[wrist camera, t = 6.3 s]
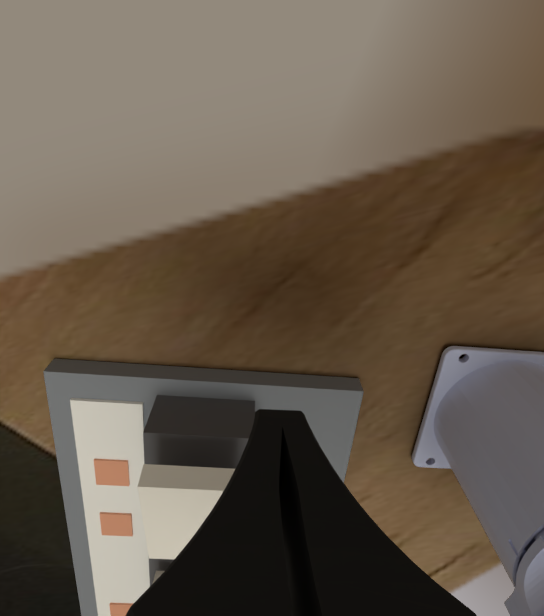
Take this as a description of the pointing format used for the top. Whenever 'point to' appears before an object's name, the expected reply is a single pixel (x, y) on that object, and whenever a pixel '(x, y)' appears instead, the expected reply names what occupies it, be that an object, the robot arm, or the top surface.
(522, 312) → the top surface
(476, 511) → the robot arm
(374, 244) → the top surface
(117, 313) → the top surface
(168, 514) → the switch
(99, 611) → the switch panel
